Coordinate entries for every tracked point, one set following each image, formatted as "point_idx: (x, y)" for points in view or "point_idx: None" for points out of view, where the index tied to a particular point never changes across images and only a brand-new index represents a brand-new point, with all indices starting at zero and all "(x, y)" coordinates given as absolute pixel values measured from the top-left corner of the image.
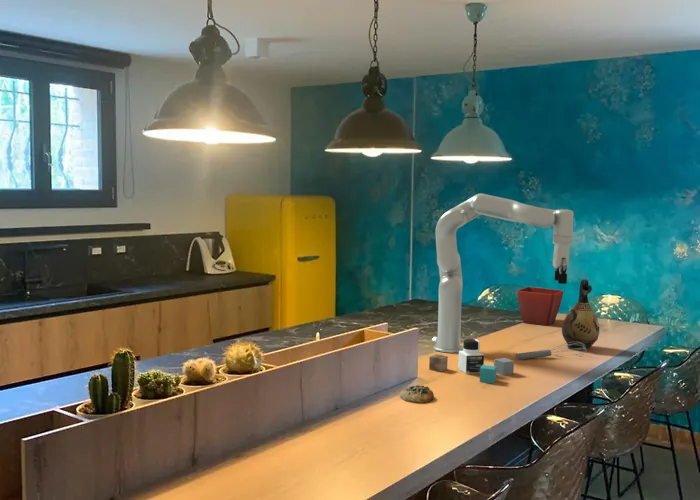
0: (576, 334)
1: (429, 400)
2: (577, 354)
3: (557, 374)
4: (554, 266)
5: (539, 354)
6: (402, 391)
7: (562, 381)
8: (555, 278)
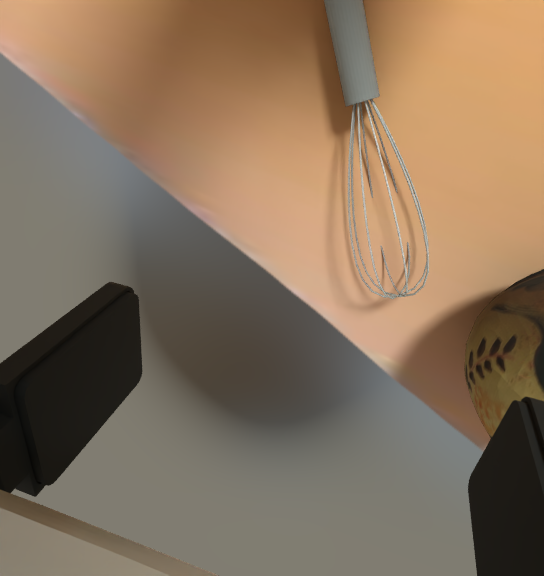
0: (489, 315)
1: None
2: (356, 238)
3: (90, 47)
4: (85, 562)
5: (331, 32)
6: None
7: (7, 38)
8: (522, 424)
